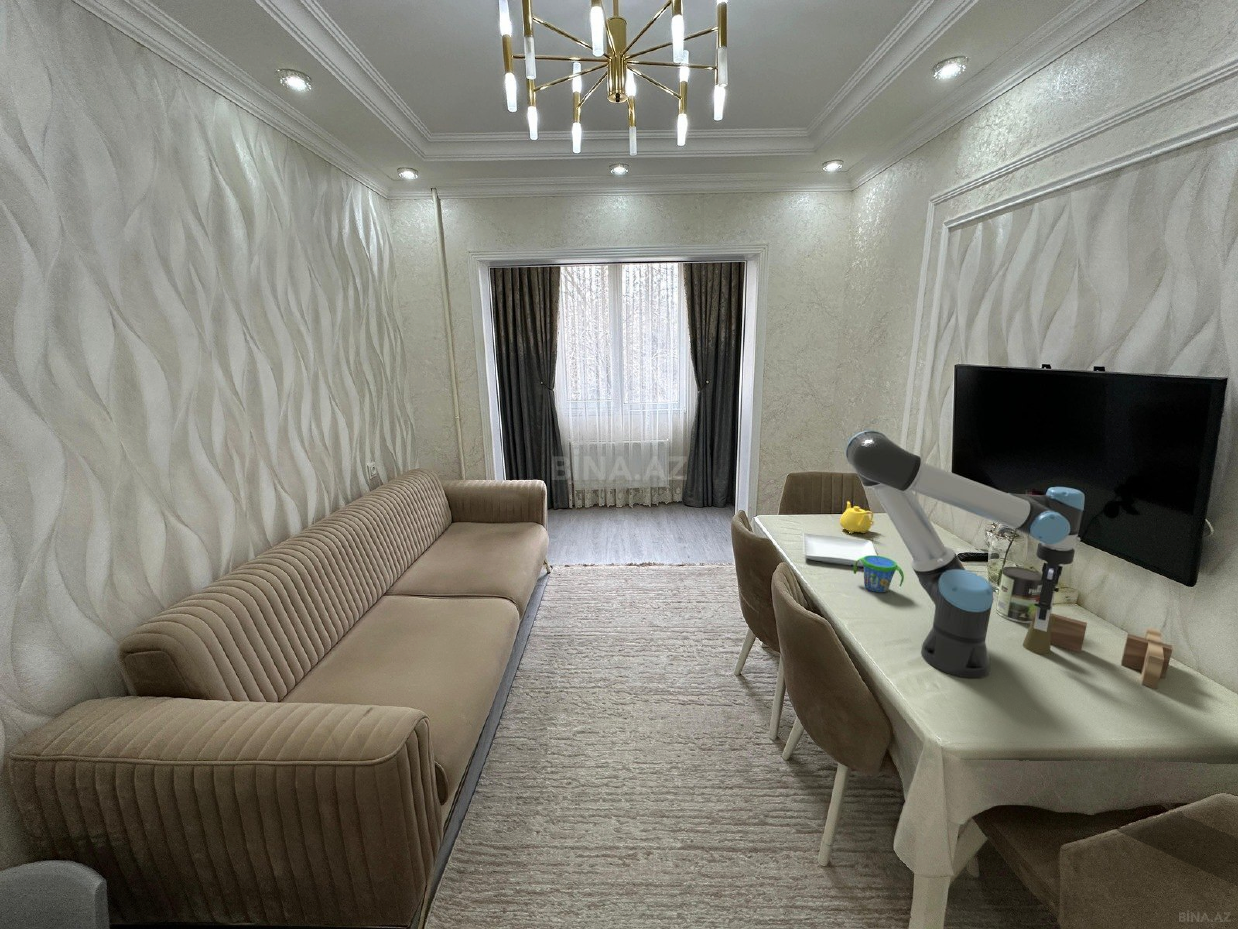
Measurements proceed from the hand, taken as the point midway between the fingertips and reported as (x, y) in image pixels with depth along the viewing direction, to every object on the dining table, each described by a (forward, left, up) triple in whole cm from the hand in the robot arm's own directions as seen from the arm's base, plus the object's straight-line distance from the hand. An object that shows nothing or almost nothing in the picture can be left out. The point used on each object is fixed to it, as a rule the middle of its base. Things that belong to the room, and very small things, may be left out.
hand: (1042, 620), depth 142 cm
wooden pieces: (+6, -13, -8) cm, 16 cm away
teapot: (+63, +71, -8) cm, 95 cm away
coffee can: (+18, +7, -8) cm, 21 cm away
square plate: (+29, +66, -9) cm, 73 cm away
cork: (-1, 0, -8) cm, 8 cm away
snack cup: (+7, +45, -8) cm, 46 cm away
